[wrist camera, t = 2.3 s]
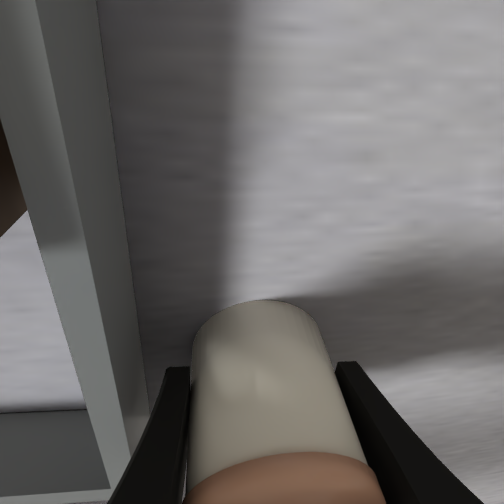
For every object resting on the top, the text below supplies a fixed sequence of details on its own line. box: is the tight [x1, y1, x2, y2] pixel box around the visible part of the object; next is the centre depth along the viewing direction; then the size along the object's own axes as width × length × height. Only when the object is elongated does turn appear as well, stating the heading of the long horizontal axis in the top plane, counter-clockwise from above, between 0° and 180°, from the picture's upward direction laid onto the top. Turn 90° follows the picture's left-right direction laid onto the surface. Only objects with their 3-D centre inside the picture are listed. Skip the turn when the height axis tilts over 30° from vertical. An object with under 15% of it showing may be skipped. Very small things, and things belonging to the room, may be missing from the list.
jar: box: [182, 300, 386, 504], centre depth 10 cm, size 5×5×6 cm
